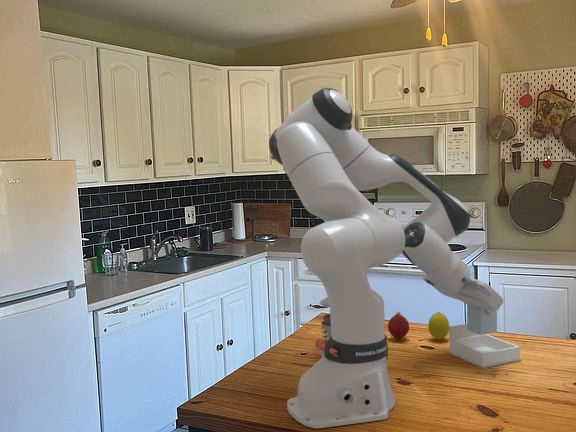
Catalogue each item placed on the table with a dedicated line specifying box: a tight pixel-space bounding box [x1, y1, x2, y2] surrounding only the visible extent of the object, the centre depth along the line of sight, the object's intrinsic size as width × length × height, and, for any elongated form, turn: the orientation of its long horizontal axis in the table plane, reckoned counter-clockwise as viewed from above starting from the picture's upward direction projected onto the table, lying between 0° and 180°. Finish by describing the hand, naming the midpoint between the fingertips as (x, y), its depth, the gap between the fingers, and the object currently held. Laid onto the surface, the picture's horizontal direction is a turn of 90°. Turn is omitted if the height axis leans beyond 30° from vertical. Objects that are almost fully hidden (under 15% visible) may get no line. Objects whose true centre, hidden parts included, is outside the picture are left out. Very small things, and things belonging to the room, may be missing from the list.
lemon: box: [427, 311, 450, 341], centre depth 162 cm, size 6×6×8 cm
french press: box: [318, 296, 332, 358], centre depth 154 cm, size 10×12×25 cm
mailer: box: [448, 323, 521, 370], centre depth 147 cm, size 11×13×7 cm
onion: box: [387, 310, 410, 341], centre depth 164 cm, size 6×6×8 cm
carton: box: [466, 303, 498, 335], centre depth 147 cm, size 5×5×10 cm
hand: (483, 309), depth 147 cm, fingers closed on carton, 5 cm apart
